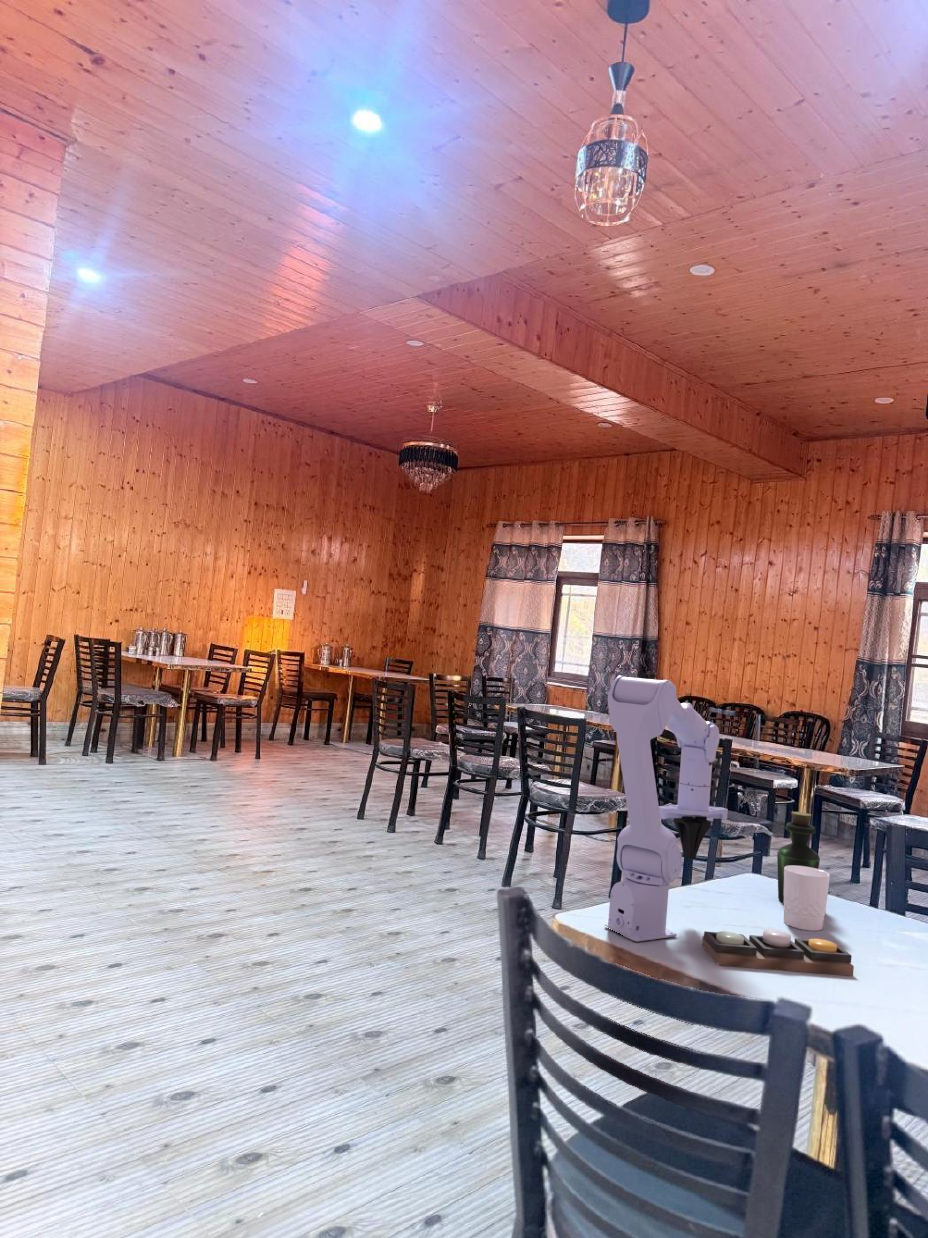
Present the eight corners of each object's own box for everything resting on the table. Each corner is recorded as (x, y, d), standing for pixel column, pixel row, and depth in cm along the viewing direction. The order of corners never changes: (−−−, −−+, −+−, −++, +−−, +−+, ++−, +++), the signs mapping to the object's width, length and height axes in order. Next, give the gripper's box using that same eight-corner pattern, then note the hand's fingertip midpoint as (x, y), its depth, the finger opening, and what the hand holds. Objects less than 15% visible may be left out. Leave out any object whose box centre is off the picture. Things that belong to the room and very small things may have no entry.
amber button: (814, 955, 136) (815, 946, 136) (803, 946, 140) (804, 937, 140) (841, 957, 136) (841, 948, 136) (829, 948, 140) (829, 939, 140)
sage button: (720, 948, 136) (721, 939, 136) (712, 939, 140) (713, 930, 140) (747, 950, 136) (747, 941, 136) (738, 941, 140) (738, 932, 140)
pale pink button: (768, 946, 136) (768, 937, 136) (758, 937, 140) (759, 928, 140) (794, 948, 136) (795, 939, 136) (784, 939, 140) (784, 930, 140)
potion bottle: (774, 904, 172) (781, 814, 173) (773, 894, 180) (779, 808, 180) (818, 911, 170) (824, 819, 170) (815, 901, 177) (821, 813, 178)
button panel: (717, 965, 133) (719, 947, 133) (700, 945, 142) (701, 929, 142) (854, 976, 134) (855, 958, 134) (828, 955, 143) (829, 939, 143)
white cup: (822, 935, 154) (825, 879, 154) (776, 925, 158) (780, 870, 158) (829, 925, 160) (833, 871, 161) (785, 915, 164) (788, 863, 165)
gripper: (675, 787, 155) (669, 863, 154) (740, 788, 160) (735, 862, 159) (652, 780, 161) (647, 853, 161) (716, 782, 167) (710, 853, 166)
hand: (689, 857), depth 160 cm, fingers closed
